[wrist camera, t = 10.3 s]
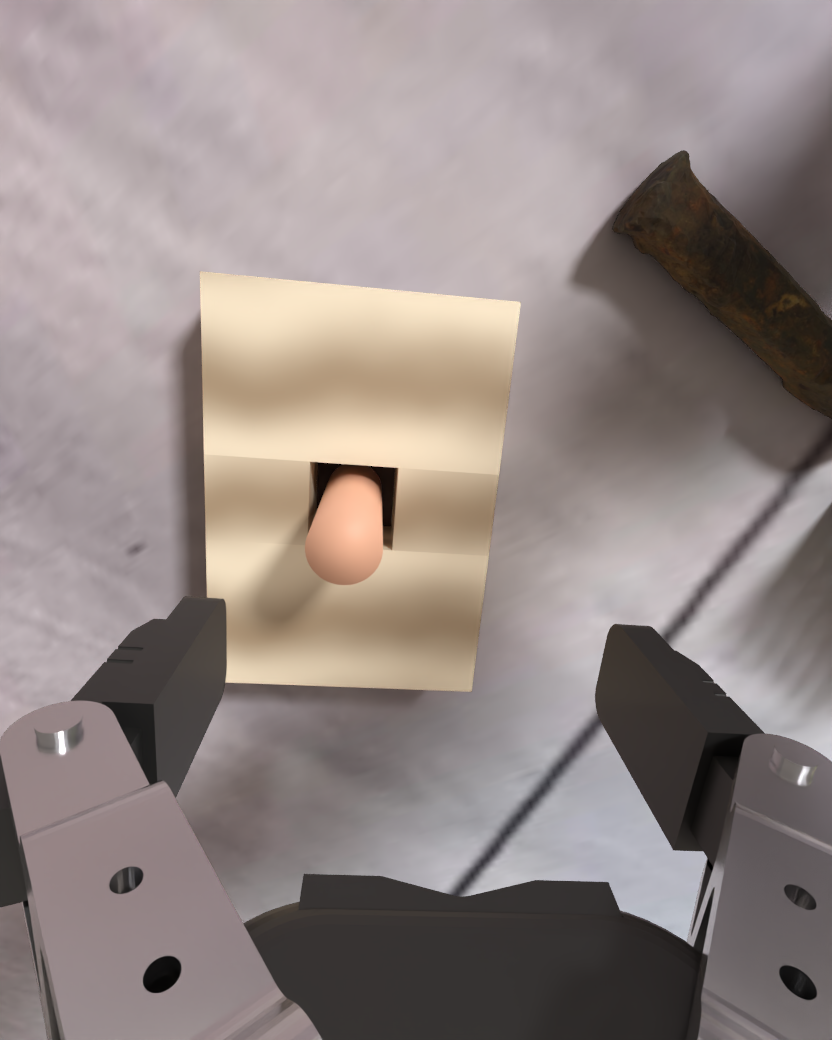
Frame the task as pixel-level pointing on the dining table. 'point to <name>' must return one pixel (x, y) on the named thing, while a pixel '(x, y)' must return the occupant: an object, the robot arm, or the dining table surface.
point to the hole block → (356, 441)
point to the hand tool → (732, 277)
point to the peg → (347, 527)
